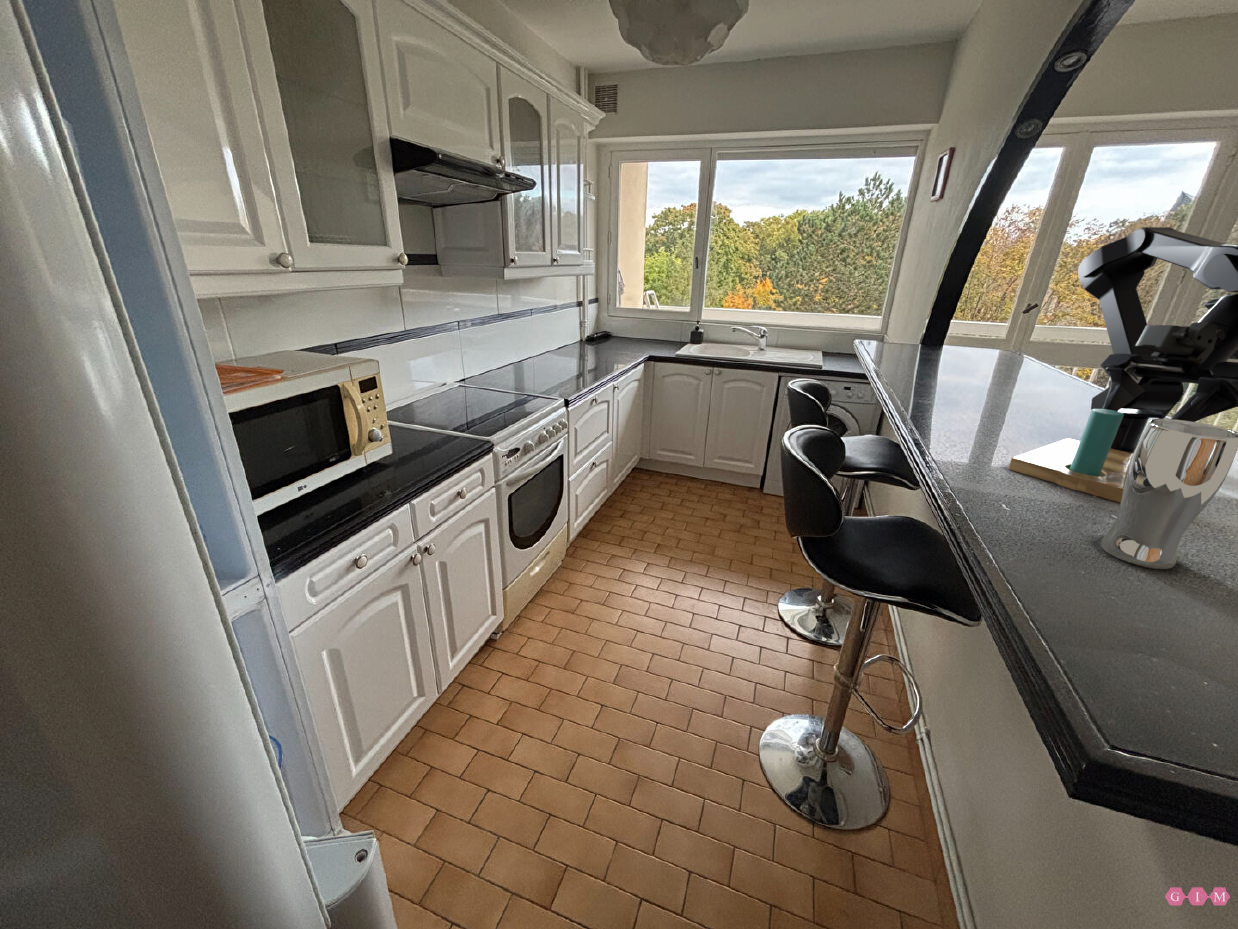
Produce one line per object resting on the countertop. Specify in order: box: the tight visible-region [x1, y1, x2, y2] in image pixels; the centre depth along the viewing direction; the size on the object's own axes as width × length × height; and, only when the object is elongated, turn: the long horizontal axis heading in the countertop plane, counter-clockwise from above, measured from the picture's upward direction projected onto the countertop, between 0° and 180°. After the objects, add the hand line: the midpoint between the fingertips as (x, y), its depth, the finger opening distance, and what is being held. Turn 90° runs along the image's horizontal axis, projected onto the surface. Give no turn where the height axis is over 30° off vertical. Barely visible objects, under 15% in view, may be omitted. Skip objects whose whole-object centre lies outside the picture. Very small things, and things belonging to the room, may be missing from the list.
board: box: [1008, 438, 1133, 504], centre depth 79 cm, size 20×14×2 cm
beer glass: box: [1100, 418, 1238, 570], centre depth 54 cm, size 7×7×15 cm
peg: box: [1069, 409, 1124, 476], centre depth 74 cm, size 3×3×11 cm
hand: (1133, 422), depth 76 cm, fingers open, 9 cm apart
